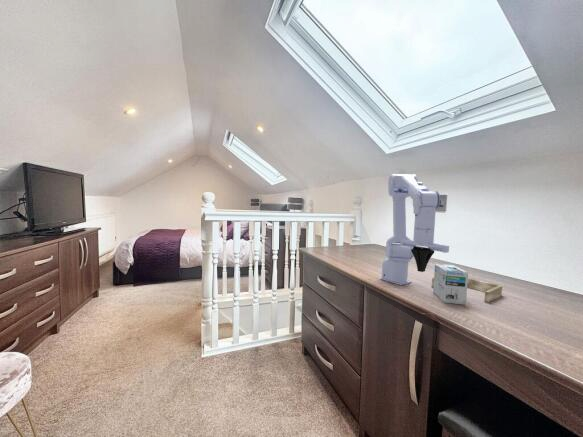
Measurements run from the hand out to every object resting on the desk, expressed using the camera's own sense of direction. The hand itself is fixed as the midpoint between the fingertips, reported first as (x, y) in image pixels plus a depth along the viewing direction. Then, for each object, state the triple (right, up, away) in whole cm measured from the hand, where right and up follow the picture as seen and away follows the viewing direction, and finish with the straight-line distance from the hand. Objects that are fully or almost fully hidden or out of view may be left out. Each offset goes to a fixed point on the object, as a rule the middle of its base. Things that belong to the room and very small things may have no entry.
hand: (421, 271), depth 81 cm
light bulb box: (+12, -11, +5) cm, 17 cm away
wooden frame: (+23, -10, +13) cm, 29 cm away
